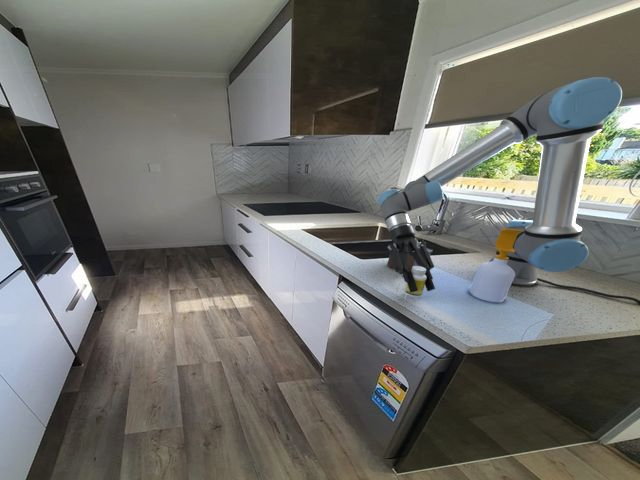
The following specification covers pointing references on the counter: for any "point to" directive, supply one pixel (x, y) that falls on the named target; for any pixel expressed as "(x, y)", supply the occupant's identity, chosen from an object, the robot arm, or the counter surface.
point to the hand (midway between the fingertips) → (422, 290)
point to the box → (410, 262)
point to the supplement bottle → (417, 281)
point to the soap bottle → (496, 270)
